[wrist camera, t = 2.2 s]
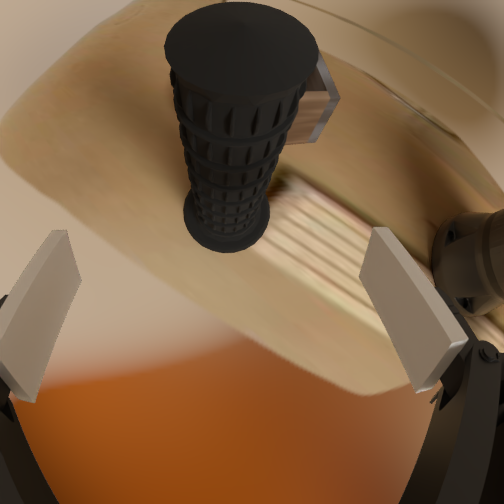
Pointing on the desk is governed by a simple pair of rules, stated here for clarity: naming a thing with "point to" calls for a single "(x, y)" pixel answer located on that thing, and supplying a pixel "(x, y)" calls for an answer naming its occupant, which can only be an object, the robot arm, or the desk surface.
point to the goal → (314, 106)
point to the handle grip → (235, 112)
